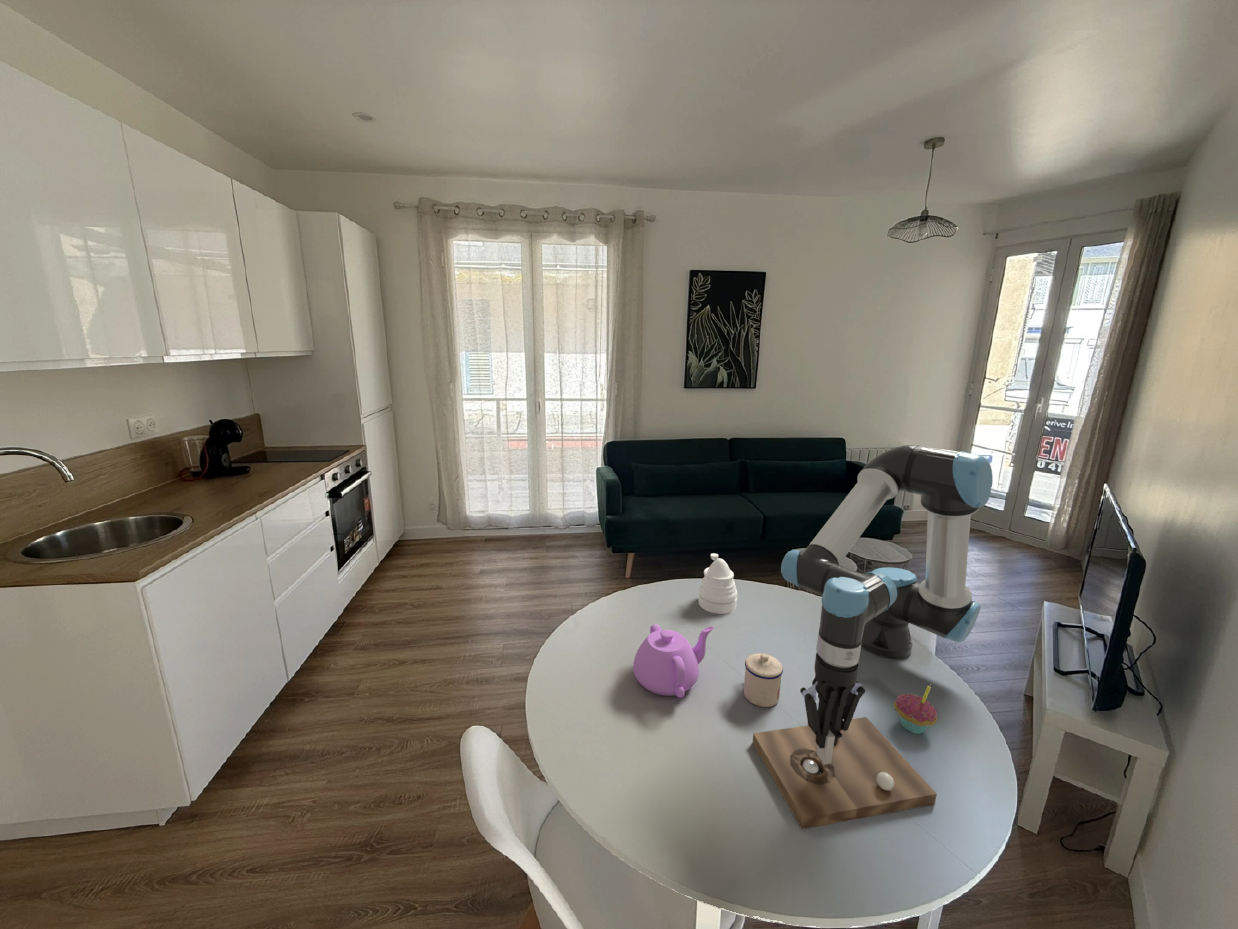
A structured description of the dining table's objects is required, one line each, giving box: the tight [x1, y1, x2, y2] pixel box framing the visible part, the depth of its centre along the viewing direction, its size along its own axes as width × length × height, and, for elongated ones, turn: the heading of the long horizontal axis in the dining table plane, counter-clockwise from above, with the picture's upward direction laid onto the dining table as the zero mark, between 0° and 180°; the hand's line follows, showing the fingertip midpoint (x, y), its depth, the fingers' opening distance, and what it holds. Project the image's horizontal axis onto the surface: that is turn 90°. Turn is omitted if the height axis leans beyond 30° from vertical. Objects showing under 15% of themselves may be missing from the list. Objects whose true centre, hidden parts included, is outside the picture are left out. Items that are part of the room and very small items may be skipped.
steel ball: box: [801, 759, 820, 776], centre depth 97 cm, size 4×4×4 cm
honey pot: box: [697, 552, 738, 615], centre depth 162 cm, size 13×13×18 cm
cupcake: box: [893, 683, 938, 734], centre depth 110 cm, size 9×8×12 cm
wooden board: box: [752, 716, 937, 830], centre depth 99 cm, size 28×20×2 cm
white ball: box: [876, 772, 894, 791], centre depth 92 cm, size 3×3×3 cm
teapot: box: [632, 623, 715, 698], centre depth 125 cm, size 22×22×14 cm
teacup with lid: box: [743, 653, 784, 708], centre depth 121 cm, size 12×9×12 cm
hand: (823, 758), depth 97 cm, fingers closed
